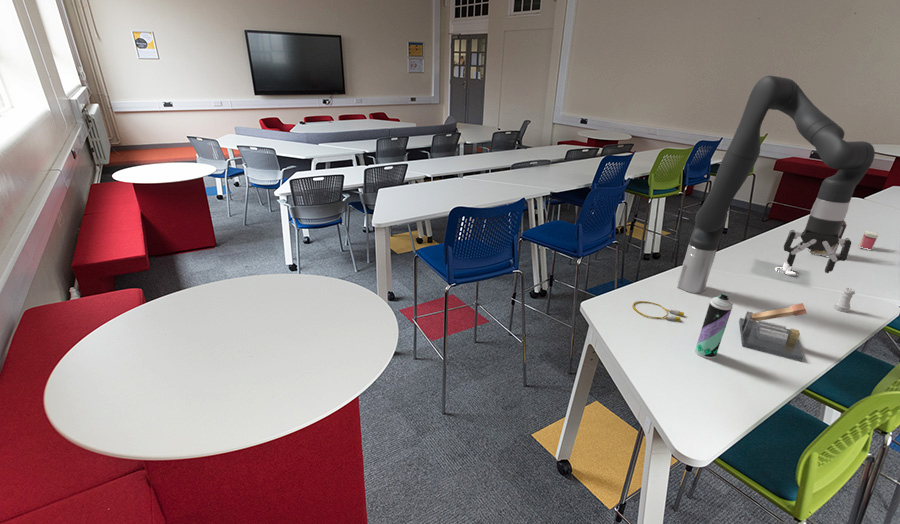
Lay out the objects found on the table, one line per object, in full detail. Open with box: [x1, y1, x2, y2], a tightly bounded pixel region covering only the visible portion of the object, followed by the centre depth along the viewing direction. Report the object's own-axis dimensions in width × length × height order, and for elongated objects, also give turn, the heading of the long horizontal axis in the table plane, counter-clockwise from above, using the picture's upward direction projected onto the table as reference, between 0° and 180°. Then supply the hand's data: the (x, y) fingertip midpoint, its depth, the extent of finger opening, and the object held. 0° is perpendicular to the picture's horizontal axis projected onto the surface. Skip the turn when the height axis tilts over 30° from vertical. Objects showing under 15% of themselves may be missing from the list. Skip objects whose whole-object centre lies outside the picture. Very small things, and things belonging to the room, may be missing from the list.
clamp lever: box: [745, 302, 808, 322], centre depth 135 cm, size 15×4×2 cm, turn 62°
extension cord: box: [632, 300, 685, 323], centre depth 152 cm, size 12×16×2 cm
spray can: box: [694, 292, 734, 360], centre depth 127 cm, size 6×6×20 cm
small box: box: [858, 230, 879, 250], centre depth 211 cm, size 5×4×8 cm
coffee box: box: [807, 220, 847, 258], centre depth 201 cm, size 9×6×16 cm
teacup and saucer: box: [774, 261, 797, 276], centre depth 185 cm, size 9×8×4 cm
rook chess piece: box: [833, 287, 856, 313], centre depth 156 cm, size 4×4×8 cm
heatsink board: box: [738, 311, 804, 362], centre depth 137 cm, size 15×16×7 cm
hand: (808, 268), depth 129 cm, fingers open, 8 cm apart
